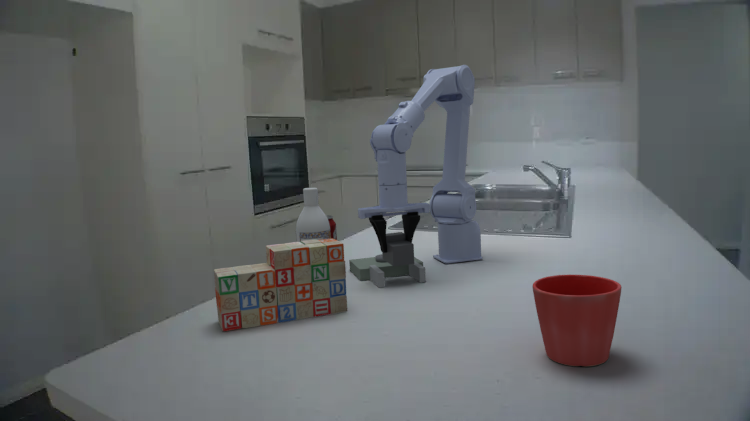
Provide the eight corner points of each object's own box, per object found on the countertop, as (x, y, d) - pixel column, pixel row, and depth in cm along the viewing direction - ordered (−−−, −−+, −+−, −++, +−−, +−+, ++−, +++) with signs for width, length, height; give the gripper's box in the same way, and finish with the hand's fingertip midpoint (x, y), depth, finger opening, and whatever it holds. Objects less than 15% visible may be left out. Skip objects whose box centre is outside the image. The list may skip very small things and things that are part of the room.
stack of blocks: (222, 333, 90) (215, 258, 89) (217, 322, 96) (211, 251, 95) (348, 311, 98) (344, 242, 96) (337, 302, 104) (333, 236, 102)
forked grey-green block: (408, 263, 131) (408, 249, 130) (435, 280, 115) (434, 264, 114) (349, 270, 127) (349, 255, 127) (368, 289, 111) (367, 272, 111)
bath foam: (338, 285, 115) (332, 187, 112) (306, 291, 112) (299, 191, 109) (326, 278, 121) (320, 185, 118) (295, 283, 118) (288, 188, 115)
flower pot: (521, 344, 79) (520, 276, 78) (597, 337, 80) (597, 270, 79) (551, 376, 68) (550, 298, 67) (638, 368, 69) (639, 291, 68)
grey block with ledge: (402, 256, 118) (401, 231, 118) (414, 263, 112) (413, 238, 111) (382, 258, 117) (381, 234, 116) (393, 266, 111) (392, 240, 110)
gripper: (362, 188, 108) (366, 258, 110) (433, 183, 111) (436, 250, 113) (354, 185, 115) (357, 251, 116) (421, 180, 118) (424, 244, 120)
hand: (395, 250), depth 115 cm, fingers closed on grey block with ledge, 4 cm apart
